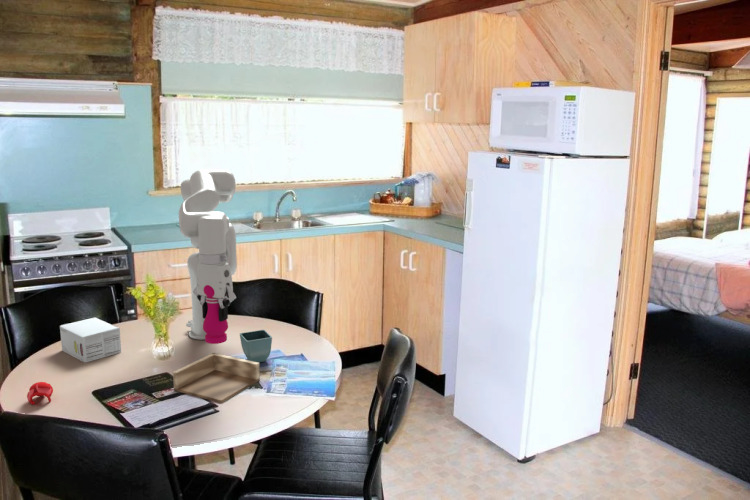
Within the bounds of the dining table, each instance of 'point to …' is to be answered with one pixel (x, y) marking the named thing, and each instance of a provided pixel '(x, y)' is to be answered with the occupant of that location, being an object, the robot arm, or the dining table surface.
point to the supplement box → (90, 339)
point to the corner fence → (215, 368)
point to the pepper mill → (213, 319)
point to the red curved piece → (40, 391)
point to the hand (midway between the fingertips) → (215, 318)
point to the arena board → (217, 386)
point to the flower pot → (256, 345)
